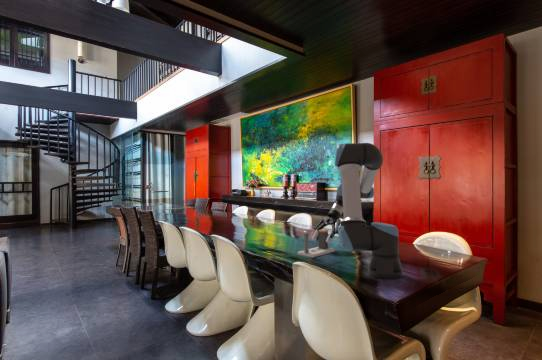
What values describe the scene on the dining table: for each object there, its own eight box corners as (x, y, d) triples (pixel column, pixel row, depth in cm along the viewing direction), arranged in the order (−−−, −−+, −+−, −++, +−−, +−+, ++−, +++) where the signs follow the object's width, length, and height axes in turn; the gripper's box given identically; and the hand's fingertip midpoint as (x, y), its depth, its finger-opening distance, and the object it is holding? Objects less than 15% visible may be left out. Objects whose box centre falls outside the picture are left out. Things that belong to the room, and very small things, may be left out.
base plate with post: (312, 259, 164) (311, 235, 164) (297, 255, 172) (297, 233, 172) (335, 253, 178) (334, 230, 178) (320, 250, 186) (320, 229, 186)
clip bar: (310, 234, 168) (309, 231, 168) (305, 234, 167) (304, 231, 167) (296, 229, 184) (296, 227, 184) (292, 230, 183) (292, 227, 183)
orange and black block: (324, 249, 177) (323, 230, 177) (318, 248, 180) (318, 230, 180) (328, 248, 179) (327, 229, 179) (322, 247, 182) (322, 229, 182)
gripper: (353, 217, 181) (338, 247, 171) (323, 215, 198) (308, 242, 188) (348, 209, 178) (333, 239, 167) (318, 207, 195) (302, 234, 184)
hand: (320, 240), depth 178 cm, fingers open, 10 cm apart
